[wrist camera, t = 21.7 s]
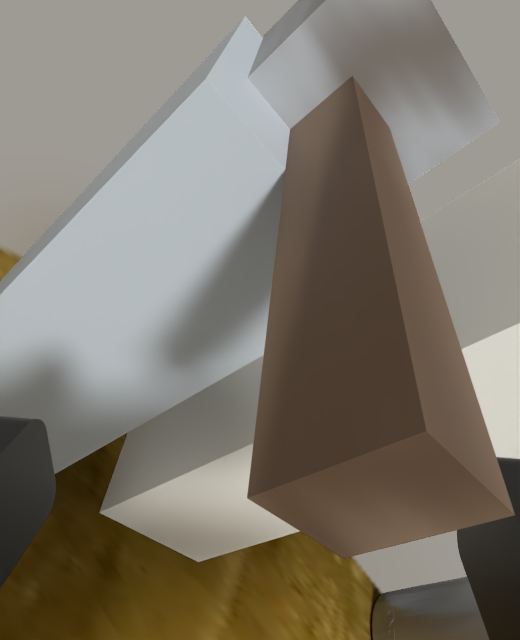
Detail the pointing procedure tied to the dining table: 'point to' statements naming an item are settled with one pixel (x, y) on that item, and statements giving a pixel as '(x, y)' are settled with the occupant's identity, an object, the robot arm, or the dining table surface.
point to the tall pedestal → (244, 384)
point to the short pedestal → (152, 266)
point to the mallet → (367, 285)
